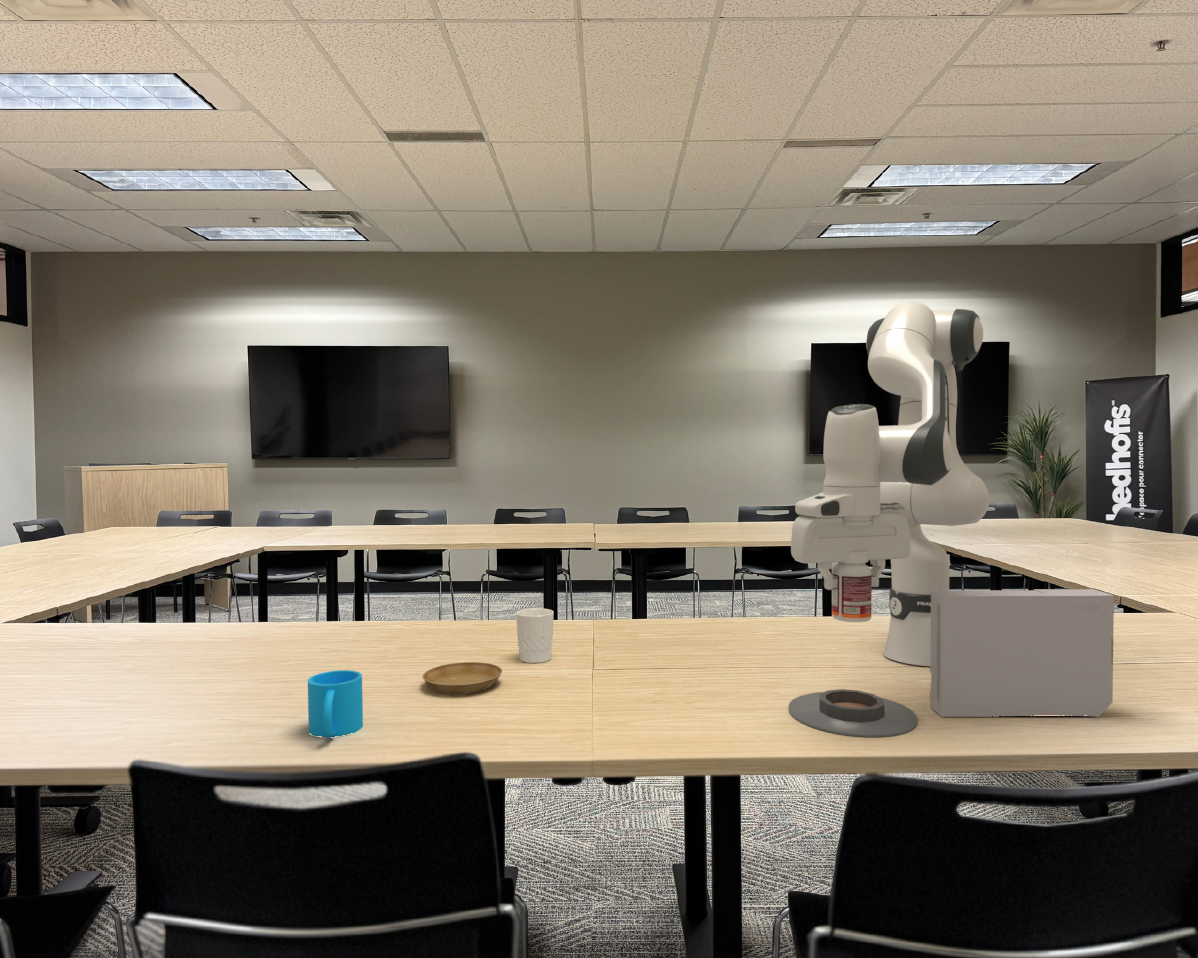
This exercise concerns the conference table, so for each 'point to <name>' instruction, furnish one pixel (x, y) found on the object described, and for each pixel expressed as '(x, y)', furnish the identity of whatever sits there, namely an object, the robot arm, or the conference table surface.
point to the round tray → (855, 729)
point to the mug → (335, 703)
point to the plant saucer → (462, 677)
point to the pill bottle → (852, 589)
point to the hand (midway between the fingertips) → (851, 587)
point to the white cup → (535, 634)
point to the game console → (1021, 652)
